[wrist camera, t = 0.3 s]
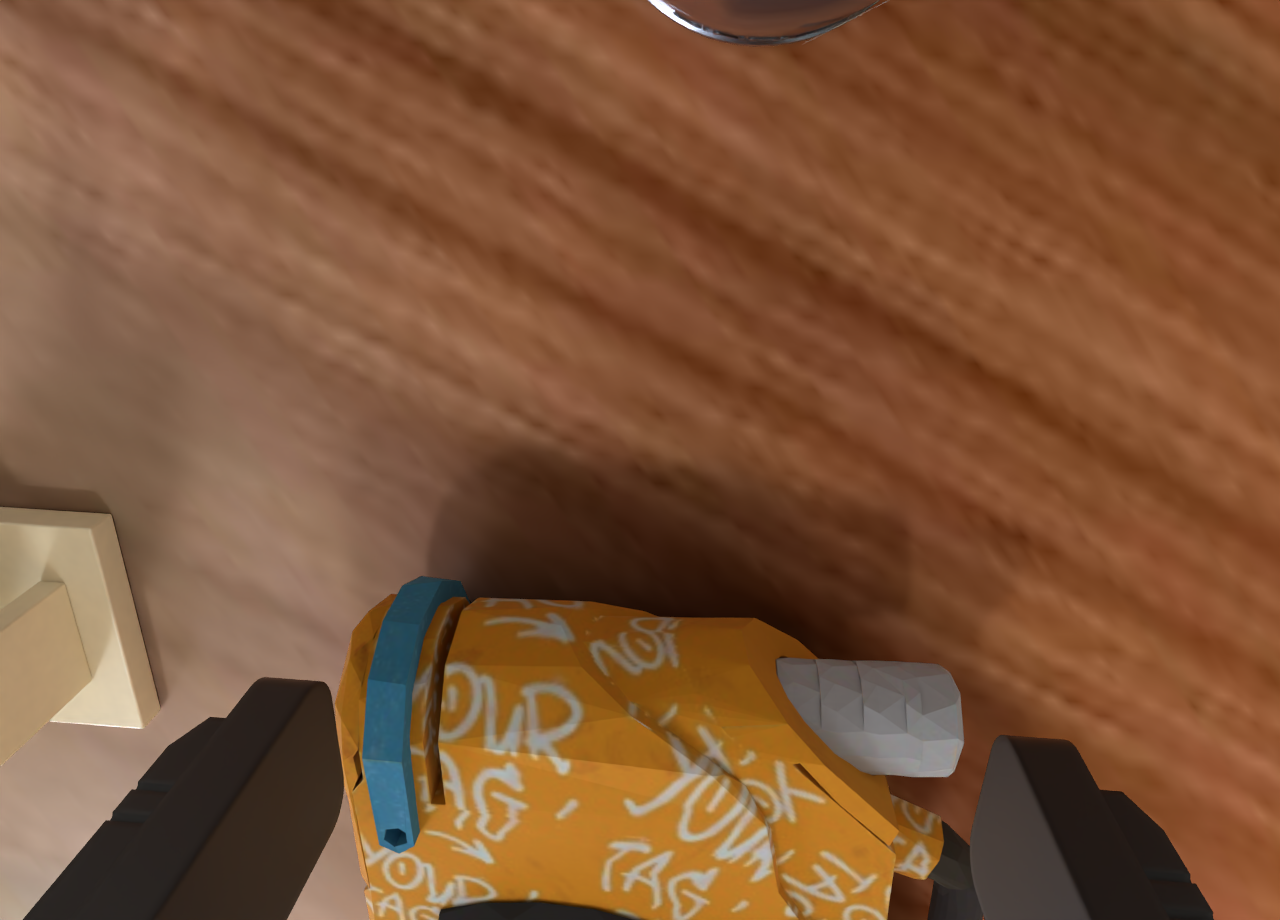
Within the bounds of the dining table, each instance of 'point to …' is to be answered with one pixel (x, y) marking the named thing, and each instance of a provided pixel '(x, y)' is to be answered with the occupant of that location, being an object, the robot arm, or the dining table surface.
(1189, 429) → the dining table surface
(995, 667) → the dining table surface
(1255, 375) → the dining table surface
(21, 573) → the lever bracket
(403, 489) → the dining table surface
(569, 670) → the device
